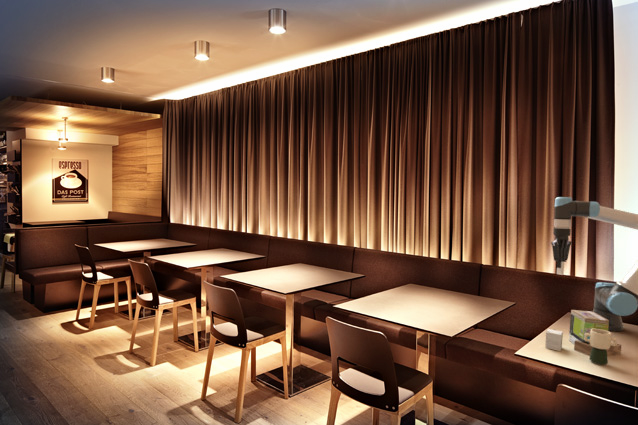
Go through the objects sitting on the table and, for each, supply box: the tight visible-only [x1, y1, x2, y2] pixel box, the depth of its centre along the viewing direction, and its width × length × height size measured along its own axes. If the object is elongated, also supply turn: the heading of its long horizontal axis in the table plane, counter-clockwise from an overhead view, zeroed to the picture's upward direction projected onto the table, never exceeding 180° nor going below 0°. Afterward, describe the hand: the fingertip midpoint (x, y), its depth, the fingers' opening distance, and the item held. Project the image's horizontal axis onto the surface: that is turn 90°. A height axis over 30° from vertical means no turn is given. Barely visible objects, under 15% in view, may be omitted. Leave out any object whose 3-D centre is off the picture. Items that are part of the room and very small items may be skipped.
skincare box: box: [544, 328, 564, 352], centre depth 193 cm, size 6×6×7 cm
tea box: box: [568, 309, 609, 345], centre depth 197 cm, size 15×10×15 cm, turn 171°
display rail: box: [573, 340, 623, 357], centre depth 191 cm, size 16×10×4 cm, turn 113°
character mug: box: [584, 329, 618, 365], centre depth 177 cm, size 11×7×13 cm, turn 61°
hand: (560, 274), depth 222 cm, fingers closed
